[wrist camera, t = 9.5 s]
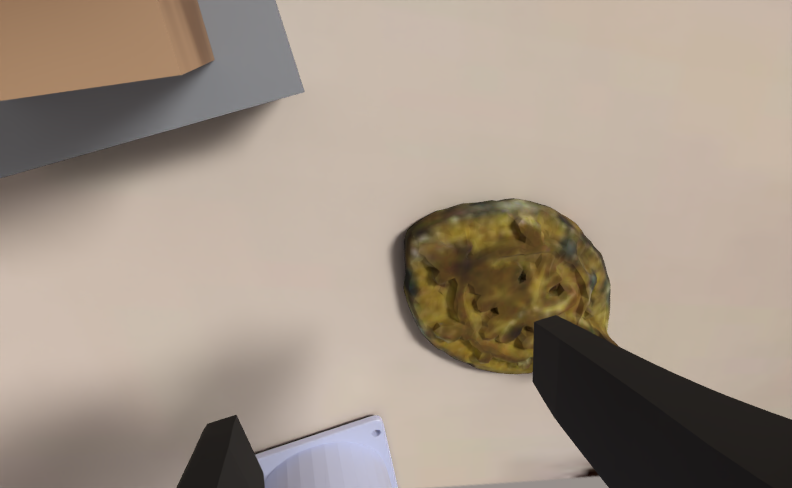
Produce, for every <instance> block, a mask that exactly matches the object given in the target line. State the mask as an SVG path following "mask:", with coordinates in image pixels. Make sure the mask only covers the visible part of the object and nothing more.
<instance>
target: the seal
mask: <svg viewBox="0 0 792 488" xmlns="http://www.w3.org/2000/svg"><path fill="white" fill-rule="evenodd" d="M404 248H405V267H406V276H405V281H404V292H405V295H406V299H407V302H408V305H409V308H410V310H411V312H412V315H413V317H414V319H415V321H416V323H417V325H418V327H419V329H420V330H421V332H422V333H423V335H424V336H425V337H426V338H427V339H428V340H429V341H430V342H431V343H432V344H433V345H434V346H435V347H436V348H438V349H439V350H442V351H444V352H446V353H447V354H449V355H450V356H451V357H453V358H454V359H457V360H459V361H462V362H465V363H468V364H470V365H471V366H473V367H475V368H478V369H482V370H486V371H491V372H496V373H504V374H523V373H532V372H533V340H534V322H535V321H538V320H541V319H544V318H548V317H551V316H554V315H557V316H559V317H561V318H563V319H565V320H567V321H569V322H571V323H573V324H575V325H577V326H579V327H581V328H583V329H585V330H587V331H589V332H591V333H593V334H595V335H597V336H599V337H601V338H603V339H605V340H607V341H609V342H610V343H612V344H614V345H616V346H618V345H617V344H616V343H615V342H614V341H613V340H612V339H611V338H610V337H609V335H608V333H607V328H608V320H609V313H610V281H609V277H608V275H607V271H606V267H605V263H604V260H603V257H602V255H601V253H600V252H599V251H598V250H597V249H596V248H595V247H594V246H593V244H592V243H591V241H590V240H589V239H588V238H587V237H586V236H585V235H584V234H583V232H582V230H581V229H580V228H579V227H578V225H577V224H576V223H575V222H573V221H572V220H570V219H569V218H567V217H566V216H564V215H561V214H560V213H559V212H557V211H556V210H554V209H552V208H550V207H548V206H545V205H541V204H538V203H534V202H531V201H526V200H520V199H514V198H513V199H504V200H500V201H493V200H491V201H485V202H479V203H464V204H460V205H457V206H454V207H451V208H448V209H443V210H439V211H436V212H434V213H432V214H430V215H428V216H427V217H425V218H423V219H421V220H420V221H419V222H417V223H416V224H415V225H413V226H412V227H411V228H410V229H409V230H407V233H406V236H405V240H404ZM618 347H619V346H618Z"/></svg>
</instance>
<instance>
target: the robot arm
mask: <svg viewBox="0 0 792 488" xmlns="http://www.w3.org/2000/svg"><path fill="white" fill-rule="evenodd" d="M533 383H534V385H535V386H536V388H537V390H538V391H539V393H540V395H541V397H542V398H543V400H544V402H545V403H546V405H547V406H548V408H549V410H550V411H551V413H552V414H553V416H554V418H555V419H556V420H557V422H558V423H559V424H560V426H561V427H562V428H563V430H564V431H565V432H566V433H567V435H568V436H569V437H570V439H571V440H572V441H573V443H574V444H575V445H576V446H577V448H578V449H579V450H580V452H581V453H582V454H583V455H584V457H585V458H586V459H587V460H588V462H589V463H590V464H591V466H592V467H593V468H594V469H595V471H596V472H597V473H598V474H599V476H600V477H601V478H602V480H603V481H604V482H605V483H606V485H607V486H608V487H609V488H792V420H791V419H788V418H785V417H783V416H780V415H777V414H774V413H771V412H768V411H766V410H763V409H760V408H758V407H755V406H752V405H750V404H747V403H744V402H742V401H739V400H736V399H734V398H731V397H729V396H726V395H724V394H721V393H719V392H716V391H714V390H711V389H709V388H706V387H704V386H702V385H700V384H697V383H695V382H693V381H691V380H688V379H686V378H684V377H681V376H679V375H677V374H675V373H672V372H670V371H668V370H666V369H664V368H662V367H659V366H657V365H655V364H653V363H651V362H649V361H647V360H645V359H643V358H641V357H639V356H636V355H634V354H632V353H630V352H628V351H626V350H624V349H622V348H620V347H618V346H616V345H614V344H612V343H610V342H609V341H607V340H605V339H603V338H601V337H599V336H597V335H595V334H593V333H591V332H589V331H587V330H585V329H583V328H581V327H579V326H577V325H575V324H573V323H571V322H569V321H567V320H565V319H563V318H561V317H559V316H557V315H554V316H551V317H548V318H544V319H541V320H538V321H535V322H534V340H533ZM375 430H376V431H375ZM177 488H398V485H397V481H396V477H395V472H394V468H393V463H392V459H391V455H390V450H389V446H388V442H387V437H386V433H385V428H384V424H383V421H382V418H381V417H380V416H377V415H374V416H370V417H367V418H364V419H361V420H358V421H355V422H352V423H349V424H346V425H343V426H340V427H337V428H334V429H331V430H328V431H325V432H322V433H319V434H316V435H313V436H310V437H307V438H304V439H301V440H298V441H295V442H292V443H288V444H285V445H282V446H279V447H276V448H273V449H270V450H267V451H264V452H261V453H258V454H254V451H253V449H252V447H251V445H250V443H249V441H248V439H247V436H246V434H245V432H244V430H243V428H242V426H241V424H240V422H239V419H238V417H237V415H234V416H231V417H228V418H225V419H221V420H218V421H215V422H212V423H209V424H207V425H206V427H205V428H204V430H203V432H202V434H201V437H200V439H199V441H198V443H197V445H196V447H195V450H194V452H193V454H192V456H191V458H190V460H189V463H188V465H187V467H186V469H185V471H184V473H183V475H182V477H181V479H180V481H179V483H178V485H177Z"/></svg>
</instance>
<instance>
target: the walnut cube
mask: <svg viewBox="0 0 792 488" xmlns="http://www.w3.org/2000/svg"><path fill="white" fill-rule="evenodd" d="M213 60H215V59H214V55H213V52H212V49H211V45H210V42H209V38H208V35H207V31H206V28H205V25H204V21H203V18H202V14H201V11H200V8H199V4H198V1H197V0H0V101H3V100H10V99H17V98H24V97H31V96H38V95H45V94H52V93H59V92H66V91H73V90H80V89H87V88H94V87H101V86H108V85H115V84H122V83H129V82H136V81H143V80H150V79H157V78H164V77H171V76H178V75H183V74H185V73H187V72H189V71H192V70H194V69H196V68H198V67H200V66H203V65H205V64H207V63H209V62H211V61H213Z"/></svg>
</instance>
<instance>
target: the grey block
mask: <svg viewBox="0 0 792 488" xmlns="http://www.w3.org/2000/svg"><path fill="white" fill-rule="evenodd" d="M197 1H198V4H199V8H200V11H201V14H202V18H203V21H204V25H205V28H206V31H207V35H208V38H209V42H210V45H211V49H212V52H213V55H214V59H215V60H213V61H211V62H209V63H207V64H205V65H203V66H200V67H198V68H196V69H194V70H192V71H189V72H187V73H185V74H183V75H178V76H171V77H164V78H157V79H150V80H143V81H136V82H129V83H122V84H115V85H108V86H101V87H94V88H87V89H80V90H73V91H66V92H59V93H52V94H45V95H38V96H31V97H24V98H17V99H10V100H3V101H0V178H3V177H6V176H10V175H13V174H17V173H21V172H24V171H28V170H31V169H35V168H38V167H42V166H45V165H49V164H52V163H56V162H59V161H63V160H66V159H70V158H73V157H77V156H81V155H84V154H88V153H91V152H95V151H98V150H102V149H105V148H109V147H112V146H116V145H119V144H123V143H126V142H130V141H133V140H137V139H141V138H144V137H148V136H151V135H155V134H158V133H162V132H165V131H169V130H172V129H176V128H179V127H183V126H186V125H190V124H193V123H197V122H200V121H204V120H208V119H211V118H215V117H218V116H222V115H225V114H229V113H232V112H236V111H239V110H243V109H246V108H250V107H253V106H257V105H260V104H264V103H268V102H271V101H275V100H278V99H282V98H285V97H289V96H292V95H296V94H299V93H303V92H305V91H304V88H303V85H302V82H301V79H300V76H299V73H298V70H297V66H296V63H295V60H294V57H293V54H292V51H291V48H290V45H289V41H288V38H287V35H286V32H285V29H284V26H283V23H282V20H281V16H280V13H279V10H278V7H277V4H276V1H275V0H197Z"/></svg>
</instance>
